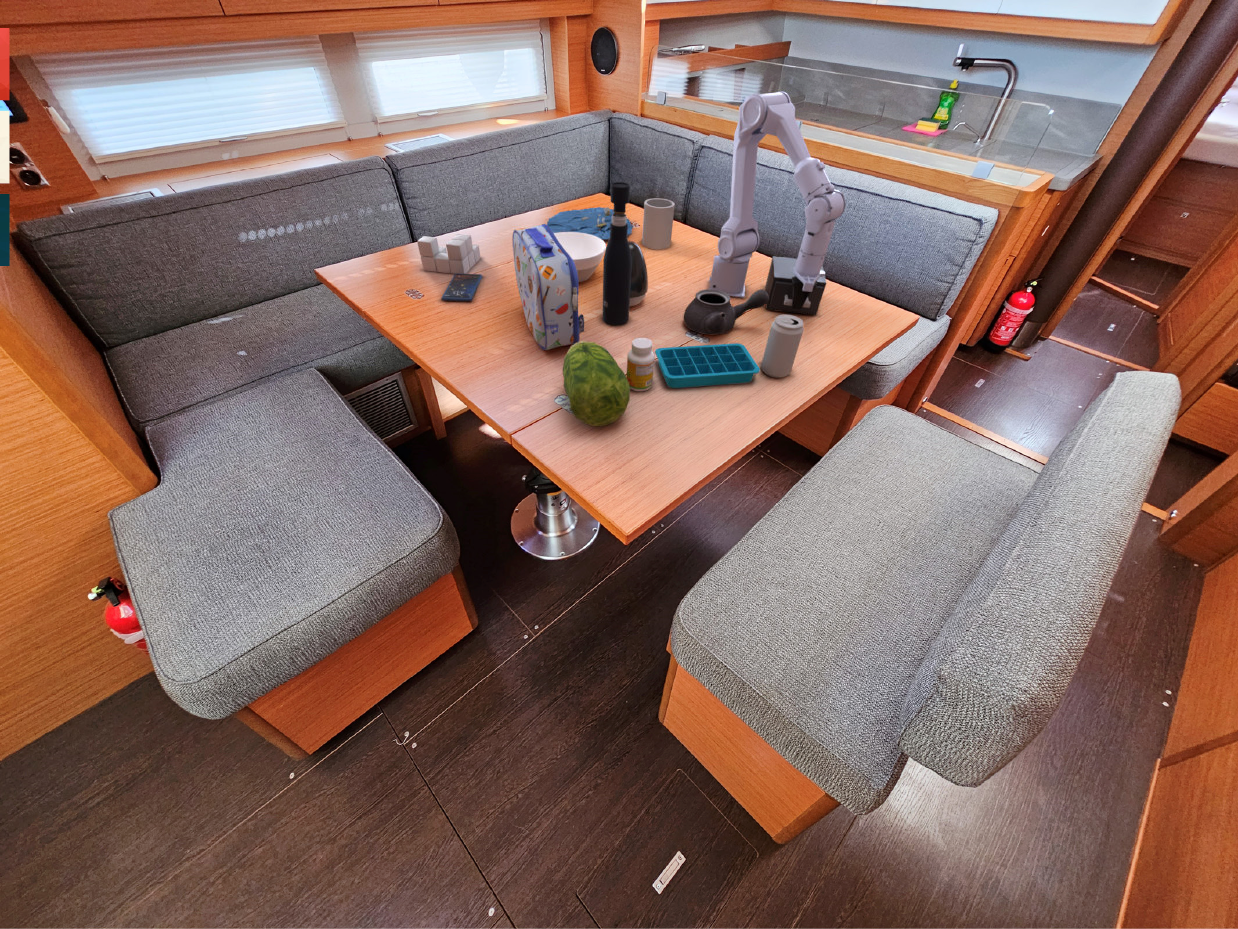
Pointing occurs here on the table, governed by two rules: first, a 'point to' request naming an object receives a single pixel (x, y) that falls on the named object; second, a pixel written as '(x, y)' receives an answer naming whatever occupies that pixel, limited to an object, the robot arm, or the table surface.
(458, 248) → the puzzle cube
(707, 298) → the teapot
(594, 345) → the lettuce
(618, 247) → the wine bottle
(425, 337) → the table surface
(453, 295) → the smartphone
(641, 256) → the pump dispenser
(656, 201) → the cup
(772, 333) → the beverage can
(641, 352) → the supplement bottle
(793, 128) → the robot arm
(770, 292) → the cabinet
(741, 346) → the ice cube tray
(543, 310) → the lunch box
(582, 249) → the bowl
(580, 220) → the blue sea diorama
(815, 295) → the drawer
